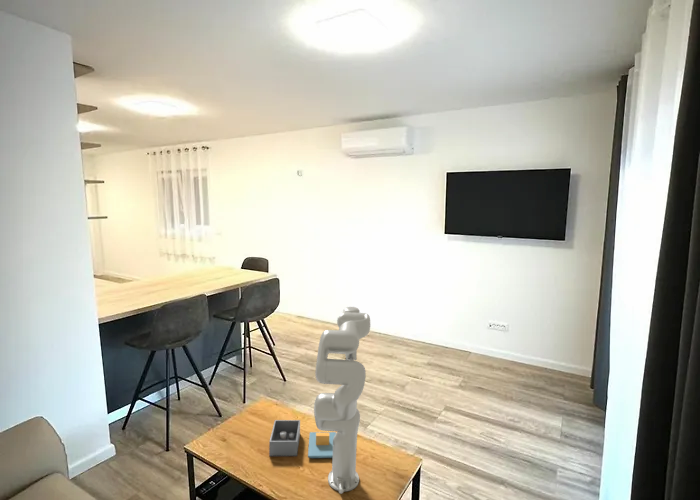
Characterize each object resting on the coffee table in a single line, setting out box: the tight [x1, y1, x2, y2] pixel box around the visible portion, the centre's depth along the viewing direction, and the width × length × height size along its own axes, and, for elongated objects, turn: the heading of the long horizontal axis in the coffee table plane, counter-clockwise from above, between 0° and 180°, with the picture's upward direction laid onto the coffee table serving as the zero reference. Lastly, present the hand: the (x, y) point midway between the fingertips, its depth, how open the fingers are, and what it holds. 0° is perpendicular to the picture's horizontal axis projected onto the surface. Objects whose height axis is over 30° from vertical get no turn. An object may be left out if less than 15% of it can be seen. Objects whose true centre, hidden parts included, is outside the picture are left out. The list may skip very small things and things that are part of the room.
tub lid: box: [307, 431, 337, 459], centre depth 172 cm, size 16×12×6 cm
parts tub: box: [268, 419, 301, 457], centre depth 173 cm, size 16×12×7 cm
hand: (349, 368), depth 177 cm, fingers open, 9 cm apart
